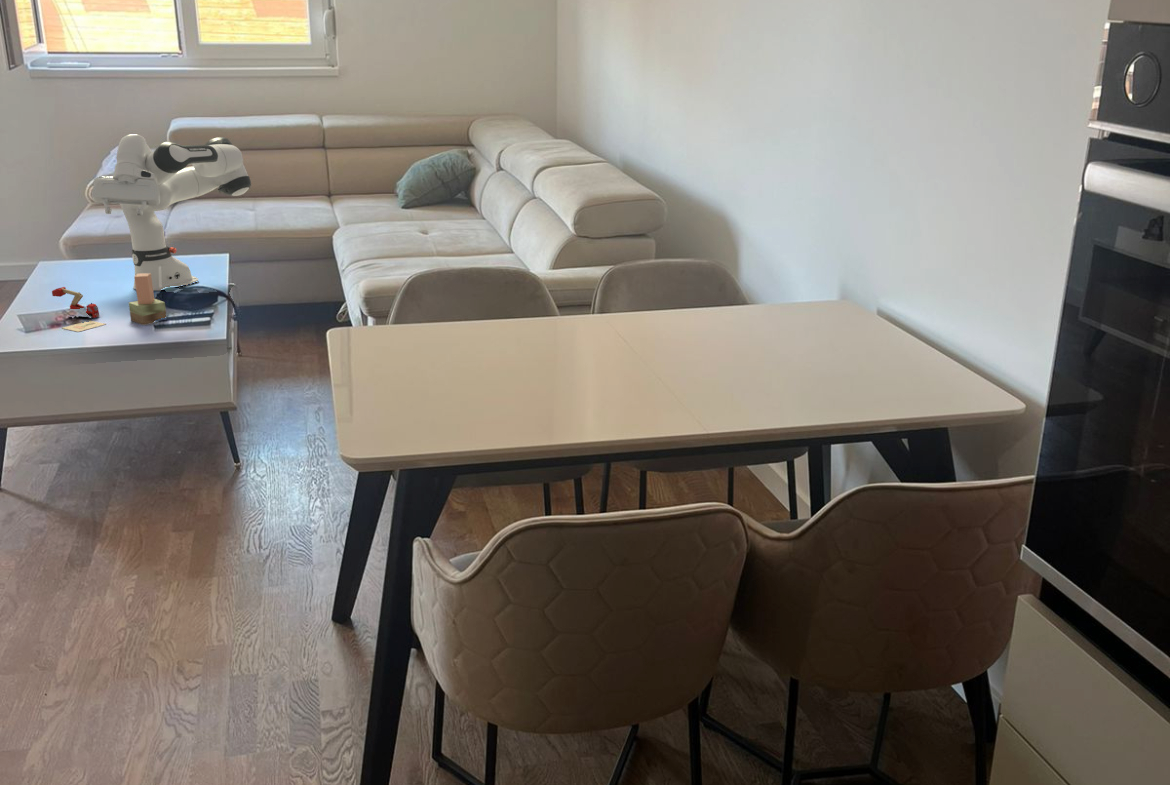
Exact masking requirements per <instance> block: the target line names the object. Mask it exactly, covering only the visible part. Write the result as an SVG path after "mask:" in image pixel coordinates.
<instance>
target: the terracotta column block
mask: <svg viewBox="0 0 1170 785" xmlns="http://www.w3.org/2000/svg"><path fill="white" fill-rule="evenodd" d="M133 277H134V280H135V285H136V289H135V291H136V298H137V301H138V304H151V303H153V302H154V301H155V300H154V299H155V295H154V293H155V292H154V291H153V285H152V278H151V273H145V274H137V275H136V276H135V275H134V276H133Z"/></svg>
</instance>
